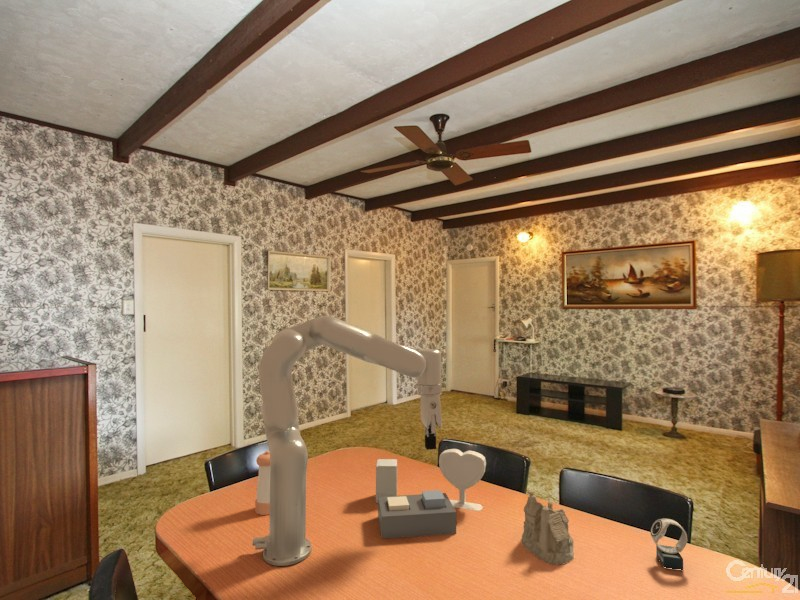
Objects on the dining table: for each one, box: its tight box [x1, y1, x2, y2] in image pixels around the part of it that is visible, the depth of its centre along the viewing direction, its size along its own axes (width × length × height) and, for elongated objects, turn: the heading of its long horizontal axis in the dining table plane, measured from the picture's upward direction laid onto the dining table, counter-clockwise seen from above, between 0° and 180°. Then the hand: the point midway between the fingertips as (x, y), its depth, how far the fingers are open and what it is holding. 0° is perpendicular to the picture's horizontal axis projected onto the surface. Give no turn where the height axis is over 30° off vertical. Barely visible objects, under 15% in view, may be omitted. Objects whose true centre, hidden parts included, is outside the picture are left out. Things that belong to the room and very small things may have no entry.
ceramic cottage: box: [521, 490, 575, 566], centre depth 117 cm, size 16×16×15 cm
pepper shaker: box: [254, 450, 271, 516], centre depth 137 cm, size 7×7×19 cm
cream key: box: [387, 495, 409, 511], centre depth 127 cm, size 6×6×5 cm
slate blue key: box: [421, 489, 445, 509], centre depth 128 cm, size 6×6×5 cm
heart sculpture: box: [438, 448, 487, 512], centre depth 141 cm, size 16×5×18 cm, turn 70°
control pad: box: [377, 492, 457, 540], centre depth 127 cm, size 22×13×6 cm, turn 98°
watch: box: [650, 518, 688, 571], centre depth 108 cm, size 6×8×11 cm
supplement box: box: [375, 458, 398, 504], centre depth 145 cm, size 7×7×13 cm
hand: (430, 448), depth 129 cm, fingers closed
